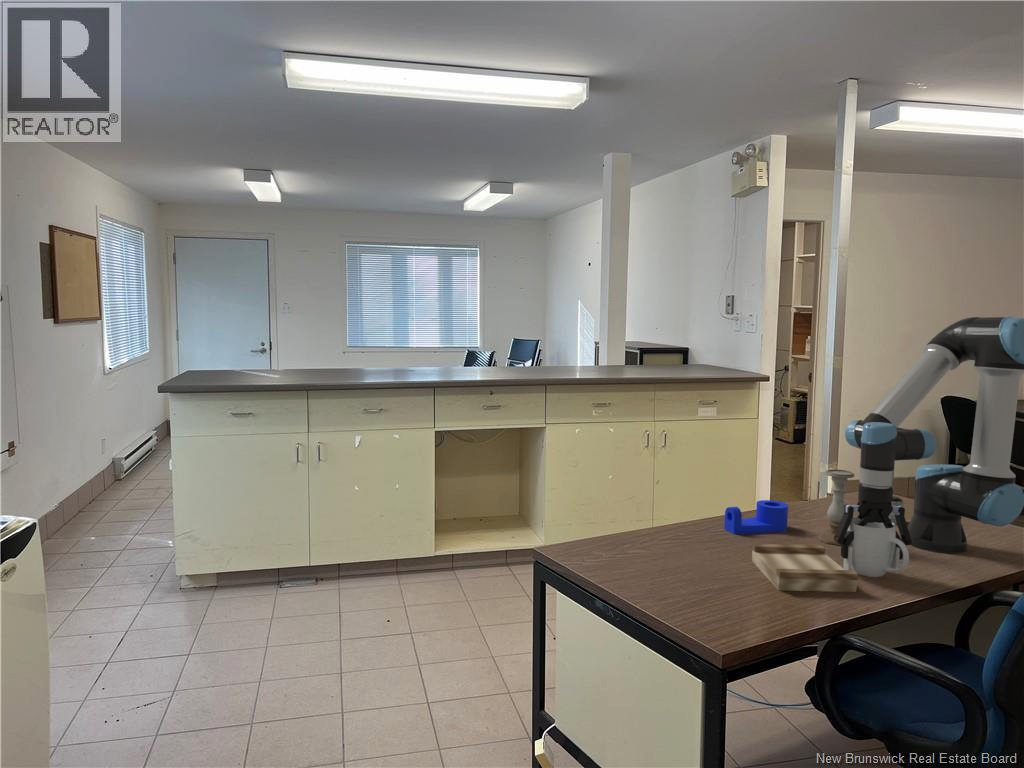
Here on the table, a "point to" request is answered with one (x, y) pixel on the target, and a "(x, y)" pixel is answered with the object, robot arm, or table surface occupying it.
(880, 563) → the mug
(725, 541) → the table surface
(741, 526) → the bracket
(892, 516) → the camera lens
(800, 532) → the table surface
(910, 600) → the table surface
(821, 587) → the wooden tray
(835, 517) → the candle holder
